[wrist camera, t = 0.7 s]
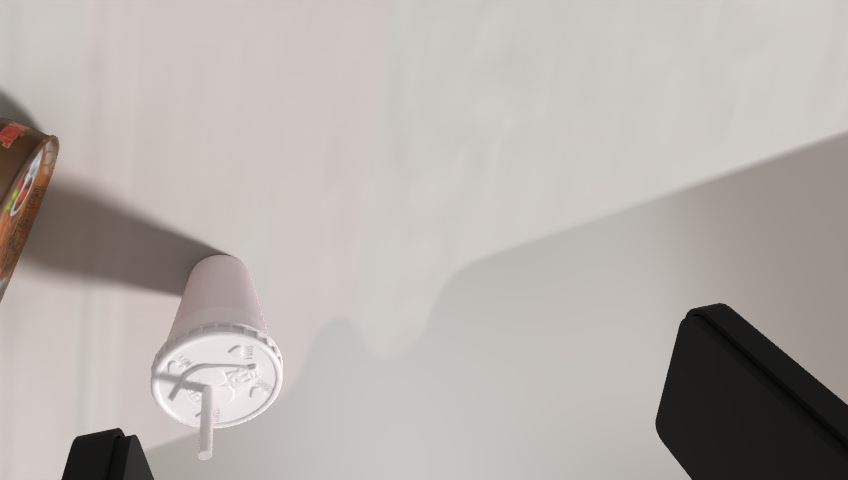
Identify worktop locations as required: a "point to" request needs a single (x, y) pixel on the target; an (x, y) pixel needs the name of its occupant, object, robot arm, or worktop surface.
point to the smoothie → (217, 353)
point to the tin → (21, 187)
